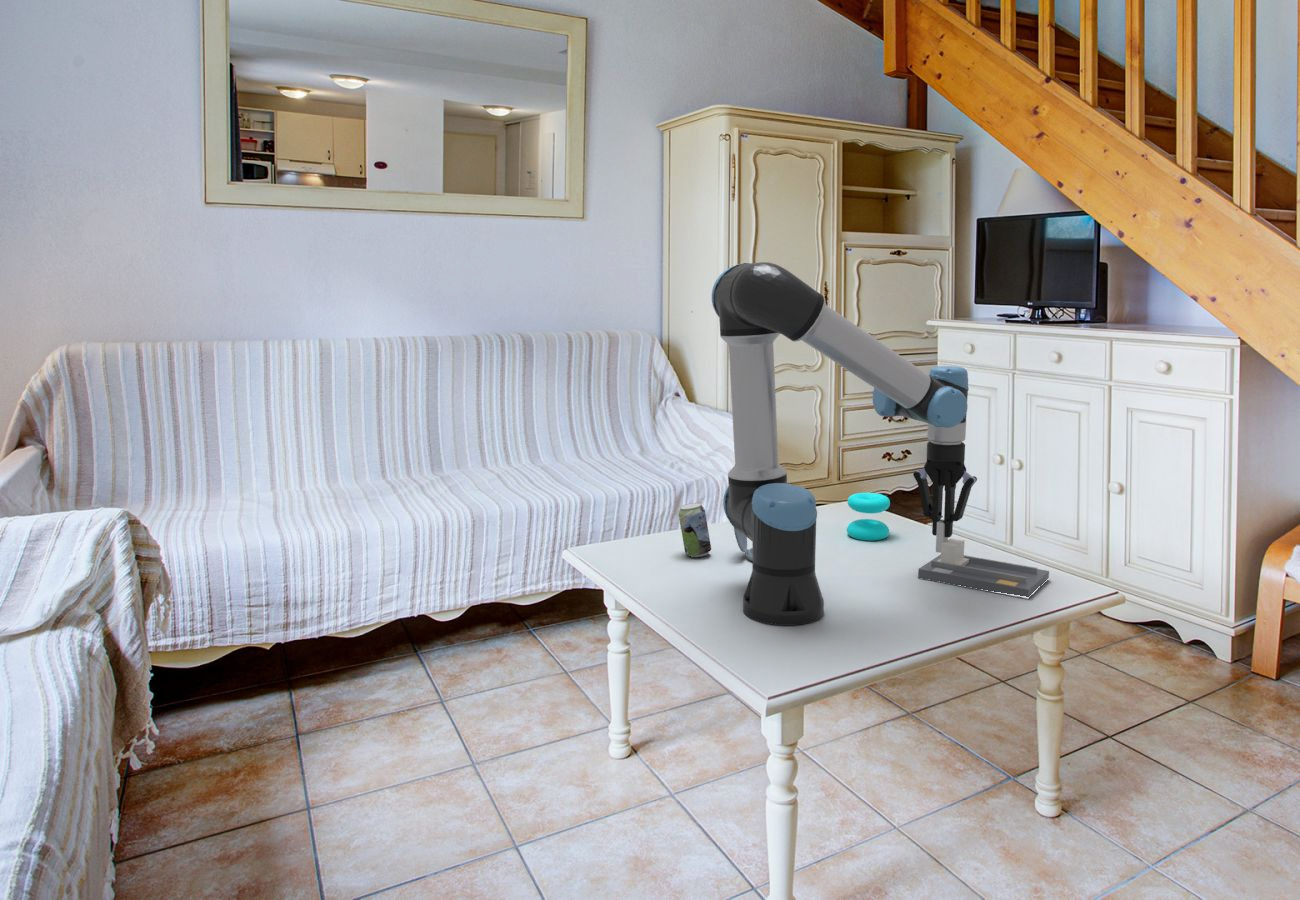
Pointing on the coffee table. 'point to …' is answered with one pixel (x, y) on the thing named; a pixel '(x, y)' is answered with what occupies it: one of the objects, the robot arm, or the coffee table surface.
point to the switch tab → (953, 552)
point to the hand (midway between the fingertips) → (941, 550)
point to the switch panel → (986, 575)
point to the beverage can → (694, 530)
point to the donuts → (868, 527)
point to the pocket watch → (743, 544)
